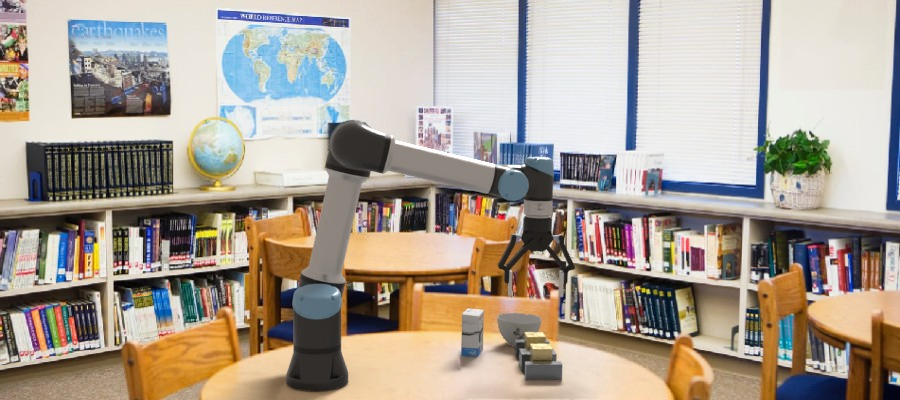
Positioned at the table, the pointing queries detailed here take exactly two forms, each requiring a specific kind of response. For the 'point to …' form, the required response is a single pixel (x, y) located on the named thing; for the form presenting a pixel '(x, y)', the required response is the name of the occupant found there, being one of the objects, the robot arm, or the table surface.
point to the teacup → (517, 326)
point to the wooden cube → (541, 352)
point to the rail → (537, 364)
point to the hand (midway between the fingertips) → (535, 295)
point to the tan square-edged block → (533, 339)
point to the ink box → (472, 332)
